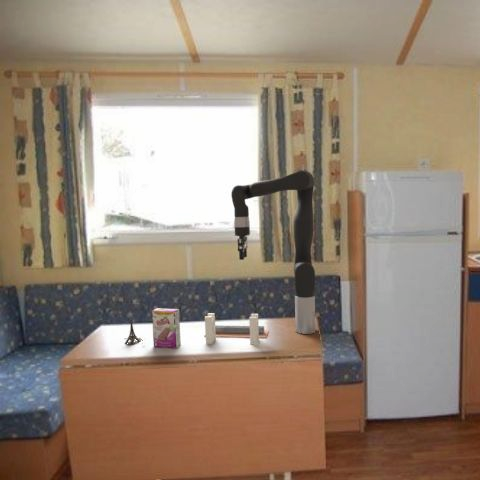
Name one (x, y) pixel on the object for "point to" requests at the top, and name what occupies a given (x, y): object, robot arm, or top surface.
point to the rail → (236, 329)
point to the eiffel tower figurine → (132, 337)
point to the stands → (211, 331)
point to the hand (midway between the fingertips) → (243, 258)
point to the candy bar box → (166, 328)
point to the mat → (241, 335)
